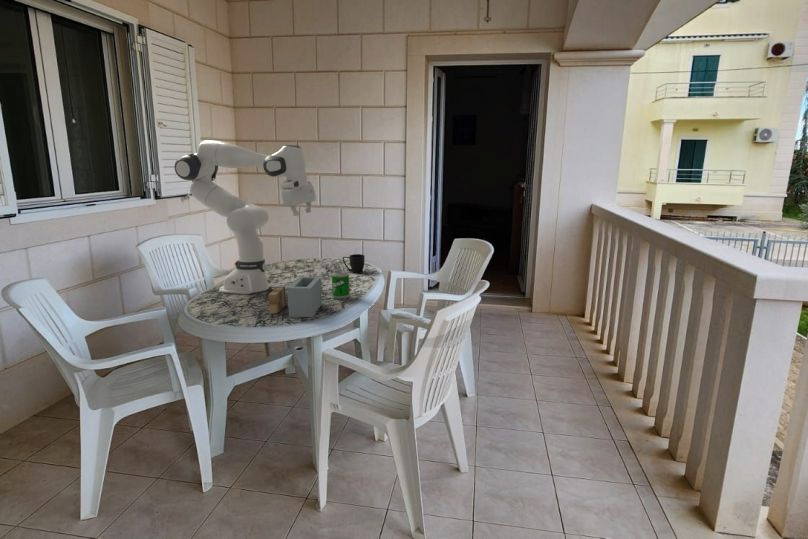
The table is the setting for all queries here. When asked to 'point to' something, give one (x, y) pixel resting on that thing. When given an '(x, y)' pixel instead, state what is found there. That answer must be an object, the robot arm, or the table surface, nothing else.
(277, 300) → the brown rectangular block
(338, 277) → the soda can
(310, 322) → the table surface
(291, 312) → the grey hollow frame
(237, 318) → the table surface
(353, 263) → the mug
